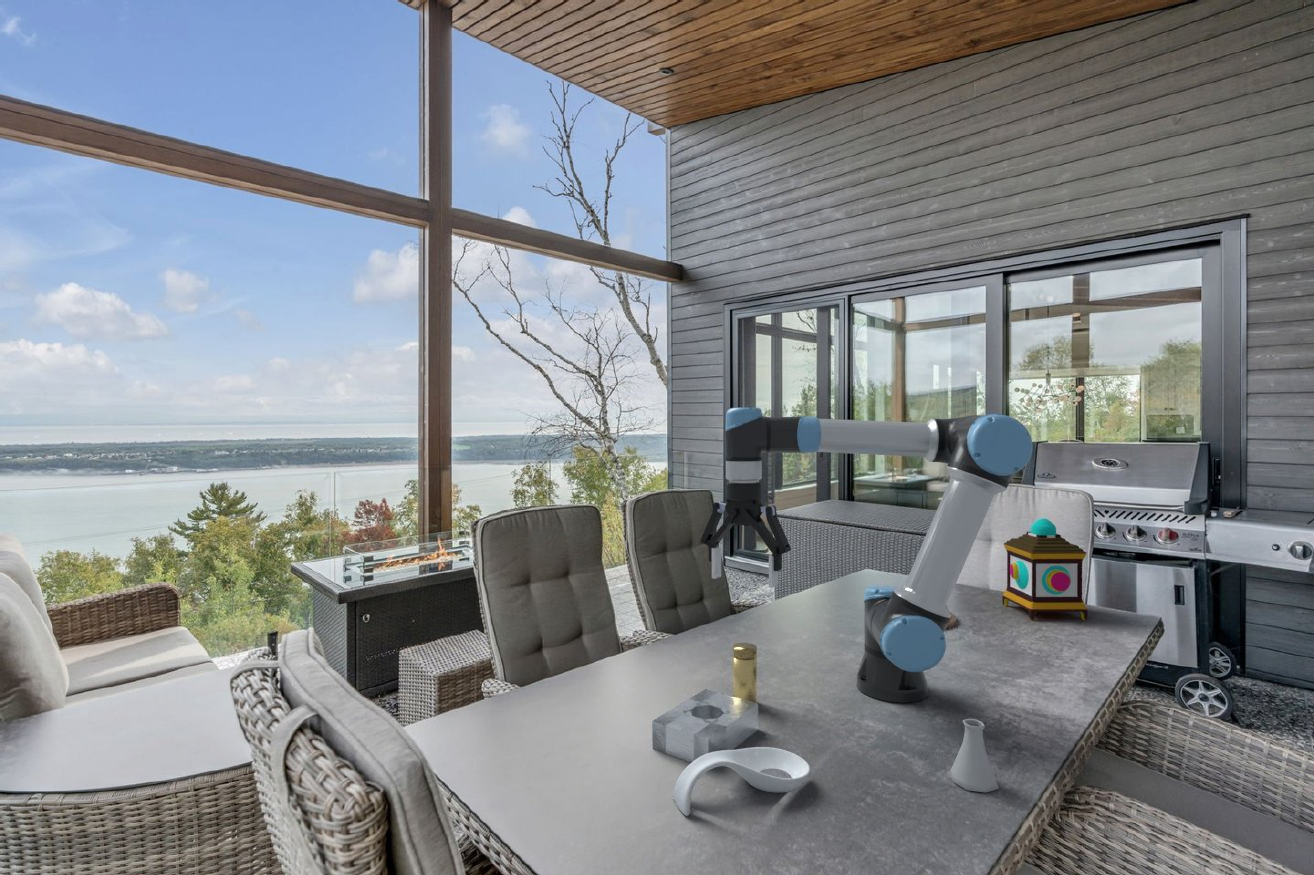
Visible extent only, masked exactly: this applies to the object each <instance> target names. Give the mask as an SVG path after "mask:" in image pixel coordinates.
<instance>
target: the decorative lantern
mask: <svg viewBox="0 0 1314 875" xmlns="http://www.w3.org/2000/svg"><path fill="white" fill-rule="evenodd" d="M1003 546H1004V548H1005V551H1006V554H1007V555H1006V560H1007V562H1006V567H1007V568H1006V574H1007V575H1006V577H1007V578H1006V579H1007V580H1006V584H1007V585H1006V589H1005V590H1004V592H1003V595H1002V596H1001V598H1002V599H1001V600H1002V602H1001V603H1002V605H1003V606H1004V607H1008V606H1009V602H1010V603H1013V604H1015V605H1017V606H1019V607H1021V608H1023V609H1025V610H1026V611H1027V612H1028V617H1029V620H1030V621H1034V620H1035V618H1036V617H1035V616H1036V614H1037V613H1041V612H1043V613H1048V612H1050V613H1052V612H1056V613H1058V612H1059V613H1060V612H1061V613H1062V612H1065V613H1067V612H1068V613H1069V612H1071V613H1072V612H1076V613H1077V612H1078V613H1079V612H1080V618H1081V620H1082V621H1087V619H1088V615H1089V614H1088V613H1089V611H1088V608H1087V606H1086V603H1084V600H1083V561H1084V559H1085V557H1086V555H1087V551H1084V549H1083V548H1082V547H1079V545H1078V544H1073V543H1071V542H1069V541H1067V540H1066V539H1065V538H1064V537H1062V535H1061V534H1058V533H1057V527H1056V526H1055V524H1054V523H1053V522H1052V521H1051V520H1049V519H1047V518H1044V517H1043V518H1039V519H1036V520H1035V521H1034V522H1033V523H1032V524H1031V526H1030V531H1026V533H1024V534H1022V535H1021V536H1019V537H1016V538H1015V537H1014V538H1013V537H1012V538H1010V539H1009V540H1007V541H1006V542H1004V543H1003Z"/></svg>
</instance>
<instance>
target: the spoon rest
mask: <svg viewBox="0 0 1314 875" xmlns="http://www.w3.org/2000/svg"><path fill="white" fill-rule="evenodd" d="M717 767H727V768H730V769H731V770H732V771H734V772H736V773H737V774H738V775H739V776H740V777H741V778H743V779H744V780H745V781H746V782H747V783H748V784H749V785H750V786H752V787H753V788H755V789H757V790H759V791H763V792H767V793H776V794H777V793H789V792H792V791H794V790H796V789H798V788H799V787H800V786H802V785H803V784H804V783H805V782H806V781H807V780H808V778H809V776H810V773H811V766H810V764H809V763H808V762H807V760H805V759H804V758H802V757H801V756H799V755H798V754H796V753H793V752H791V751H789V750H785V749H782V748H777V747H769V746H760V747H759V746H755V747H745V748H739V749H738V748H737V749H733V750H722V751H715V752H711V753H707V754H705V755H703V756H701V757H699V758H697V759H696V760H695V761H693V762H692V763H691V762H690V764H688V765H687V766H686V767H685V768H684V769H683V771H682V773H681V774H680V775H679V776H678V779H677V781H676V783H675V785H674V786H675V787H674V789H673V794H672V797H673V799H672V801H673V803H674V805H675V804H676V805H675V806H676V807H677V808H678V810H679V811H680V812H681V813H682V814H683V815H685V816H686V817H688V816H689V815H690V813H691V802H692V801H691V800H692V793H693V790H694V787H695V786H696V783H697V782H698V780H699V779H701V777H702V776H703V775H705V774H707V772H710V770H713V769H715V768H717ZM769 769H774V770H775V769H776V770H780V771H783V772H784V773H787V774H788V775H789V776H790V777H791V778H790V777H788V778H787V777H785V778H784V777H778V776H774V775H770V774H766V773H763V772H762V771H764V770H769Z"/></svg>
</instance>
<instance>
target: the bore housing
mask: <svg viewBox="0 0 1314 875" xmlns="http://www.w3.org/2000/svg"><path fill="white" fill-rule="evenodd" d="M757 731H759V703H758V702H757V703H755V702H751V701H747V700H744V699H740V698H736V697H733V695H730V694H725V693H722V692H718V691H714V690H710V689H706V688H705V689H703V690H702V691H699V692H698V693H697V694H695V695H693V696H691V697H690V698H688V699H686V700H685V701H683V702H682V703H680V704H678V705H677V706H675V707H673V708H671V709H670V710H668V711H666V712H665V713H663V714H662V715H660V716H658V717H657V718H655V719H653V720H652V729H651V732H652V735H651V736H652V740H651V742H652V749H653V750H656V751H658V752H661V753H664V754H667V755H669V756H673V757H675V758H678V759H680V760H683V761H686V762H688V763H690V764H691V763H692V762H693V761H695V760H696V759H697V758H699V757H701V756H703V755H705V754H707V753H711V752H715V751H722V750H735V748H737V747H739V745H741V744H742V743H743V742H745V741H746V740H747V739H748V738H750V737H751V736H752V735H753V734H754V733H756V732H757Z"/></svg>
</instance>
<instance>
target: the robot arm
mask: <svg viewBox="0 0 1314 875" xmlns="http://www.w3.org/2000/svg"><path fill="white" fill-rule="evenodd" d="M724 432H725V479H726V480H727V482H726V484H725V498H726V502H723V501H717V502H713V504H712V513H711V515H710V517H709V519H708V521H707V524H706V526H705V528H704V531H703V533H702V536H701V538H700V543H701V544H704V545H706V546H707V548H708V561H709V562H710V563H711V579H712V580H713V579H714V580H716V579H718V578H721V577H722V546H719V545H720V543H721V541H722V540H723V539H724V538H725V536H726V535H727V534H728V532H729V531H730V530H731V529H732V528H733V526H744V527H750V526H751V528H752V529H753V530H755V531H756V533H757V534H758V536H759V537H760V538H761V540H762V542H763V543H764V544H765V545H766V547H767V549H769V551H770V553H771V554H769V555H768V588H771V589H773V588H775V587H777V586H779V571H781V570H782V568H783V554H786V553H789V552H791V551H792V548H791V545H790V542H789V540H788V538H787V536H786V534H785V532H784V529H783V527H782V525H781V522H780V519H779V517H778V515H777V507H776V505H767V506H763V505H762V500H763V484H762V483H761V481H760V480H762V479H763V476H762V474H763V472H762V471H763V470H762V469H763V466H762V464H763V463H762V462H763V461H762V460H763V459H762V458H763V457H762V456H763V453H766V454H769V453H775V454H776V453H783V454H785V453H786V454H790V453H791V454H792V453H793V454H806V453H807V454H808V453H835V454H836V453H837V454H853V455H855V454H858V455H873V456H875V455H877V456H879V455H880V456H892V457H893V456H894V457H895V456H897V457H914V458H915V457H917V458H924V459H926V460H927V461H928V463H940V464H941V463H943V464H947V465H946V470H947V472H948V474H949V476H950V477H949V478H950V479H949V482H948V483H947V486H946V488H945V490H944V493H943V495H942V498H941V500H940V502H939V504H938V507H937V509H936V511H935V514H934V516H933V519H932V520H931V524H930V525H929V527H928V530H927V532H926V535H925V536H924V539H923V541H922V544H921V546H920V549H919V551H918V553H917V555H916V557H915V560H914V562H913V565H912V567H911V570H910V571H909V574H908V577H907V579H906V581H905V583H904V585H902V586H895V585H893V586H892V585H876V586H875V585H874V586H870V587H867V588H866V589H865V591H864V598H863V602H864V608H863V612H864V617H863V618H864V628H863V629H864V632H863V633H864V649H863V650H864V652H863V655H862V658H861V661H860V664H859V667H858V670H857V672H856V687H857V690H858V691H859V692H861V693H863V694H864V695H866V696H868V697H872V698H874V699H878V700H880V701H887V702H893V703H914V702H918V701H922V700H924V699H926V698H927V696H928V693H929V692H928V691H929V688H928V687H929V686H928V680H927V678H926V677H927V676H926V675H925V672H924V671H928V670H931V669H933V668H934V667H936V666H937V665H938V664H939V663H940V662H941V661H942V659H943V658H944V655H945V654H946V650H947V642H946V636H945V630H947V629H946V627H947V624H948V622H949V619H950V617H951V614H950V612H951V611H950V610H949V607H948V603H949V600H950V597H951V596H952V594H953V592H954V588H955V587H956V585H957V582H958V579H959V578H960V576H961V573H962V571H963V569H964V566H965V563H966V561H967V559H968V556H969V554H970V552H971V549H972V547H973V545H974V543H975V540H976V538H977V536H978V534H979V531H980V530H981V527H982V524H983V522H984V520H985V517H986V515H987V513H988V510H989V509H990V506H991V504H992V502H993V500H994V497H995V496H996V495H998V494H999V493H1003V492H1005V491H1007V489H1008V486H1009V484H1010V482H1011V480H1012V478H1013V475H1014V474H1016V473H1019V471H1021V470H1022V469H1024V468H1025V467H1026V466H1027V464H1029V462H1030V461H1031V460H1030V459H1031V458H1032V455H1033V448H1034V447H1033V439H1032V436H1031V434H1030V432H1029V430H1028V428H1026V426H1025V425H1024V424H1023V423H1022V422H1021V421H1019V420H1018V419H1017V418H1014V417H1012V416H1009V415H1005V414H1000V413H988V414H979V415H977V414H976V415H975V414H973V415H967V416H961V417H951V418H930V419H928V421H926V422H913V421H910V422H908V421H887V420H883V421H882V420H860V419H859V420H857V419H856V420H855V419H838V418H837V419H831V418H818V417H816V416H807V415H804V416H802V415H801V416H772V417H771V416H763V412H762V409H761V408H760V407H731V408H729V409H728V410H727V411H726V414H725V430H724ZM725 512H726V514H727V516H726V518H725V519H724V520H723V523H722V524H721V525H720V527H719V528H717V527H718V525H719V523H720V520H721V519H722V516H723V514H724V513H725ZM762 515H763V516H764V517H765V518H766V521H767V523H768V525H769V528H770V530H771V532H770V530H769V529H768V527H767V526H766V524H765V523H766V522H765V521H764V520H763V518H762V517H761V516H762ZM716 530H717V531H716ZM709 562H708V563H709Z"/></svg>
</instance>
